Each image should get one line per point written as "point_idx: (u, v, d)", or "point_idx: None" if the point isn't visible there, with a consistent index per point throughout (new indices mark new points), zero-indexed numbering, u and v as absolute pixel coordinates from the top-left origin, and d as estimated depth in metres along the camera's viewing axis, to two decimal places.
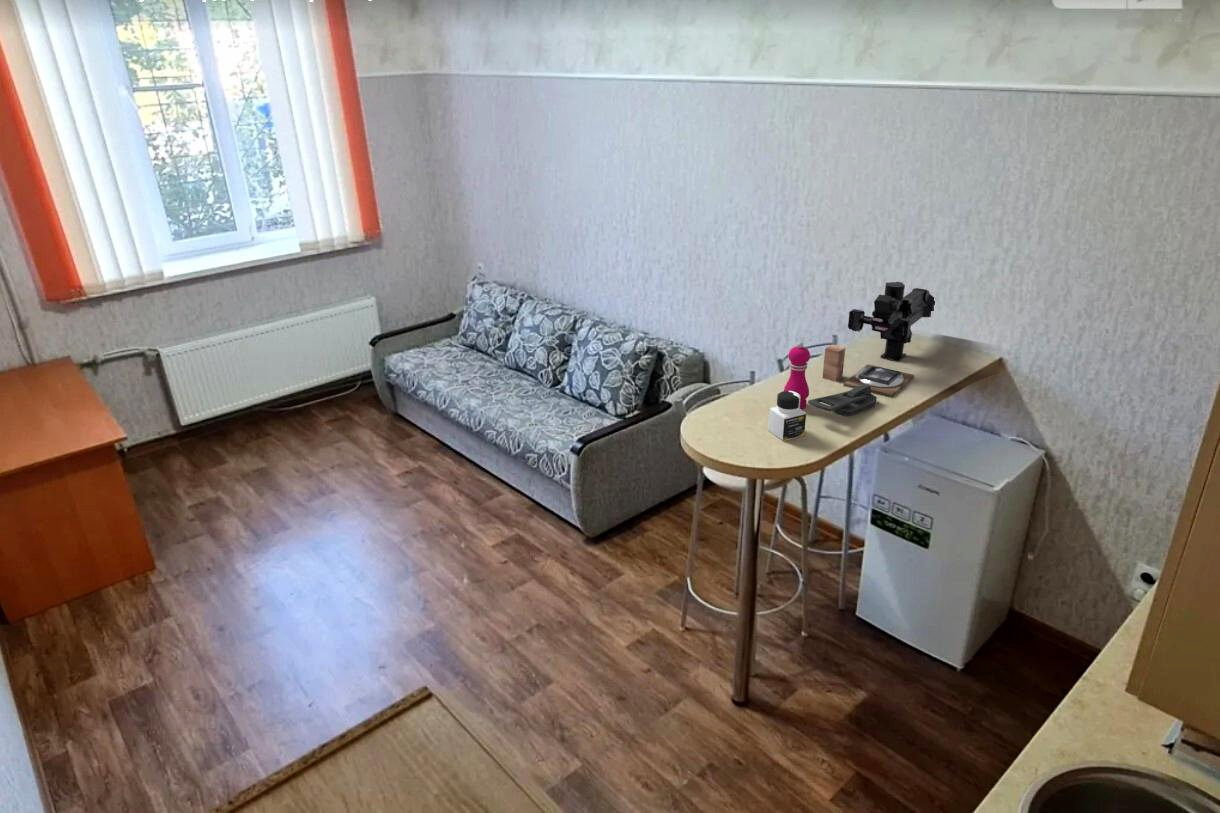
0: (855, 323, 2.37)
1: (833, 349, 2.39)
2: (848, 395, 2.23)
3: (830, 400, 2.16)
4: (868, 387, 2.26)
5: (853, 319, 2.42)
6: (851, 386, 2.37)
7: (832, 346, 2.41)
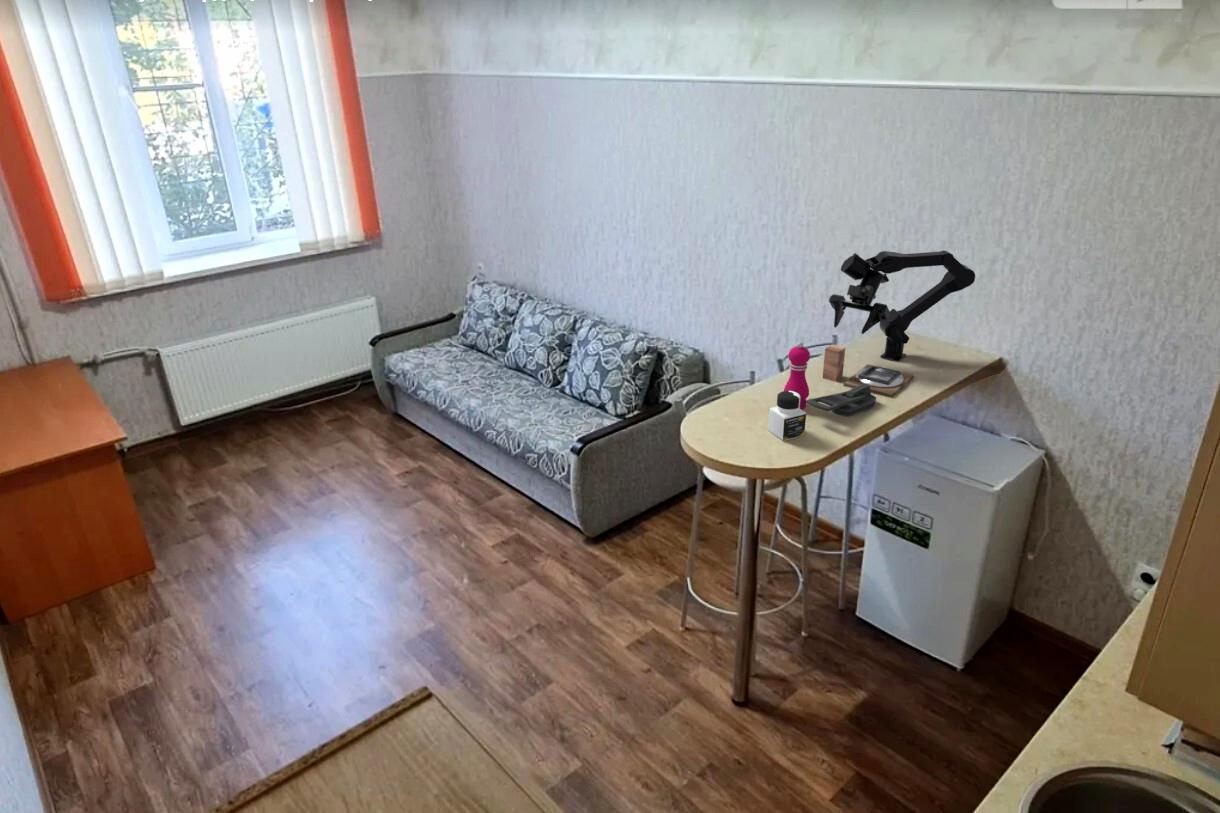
0: (835, 318, 2.46)
1: (833, 349, 2.39)
2: (847, 395, 2.23)
3: (828, 400, 2.17)
4: (867, 387, 2.26)
5: None
6: (851, 386, 2.37)
7: (832, 346, 2.41)
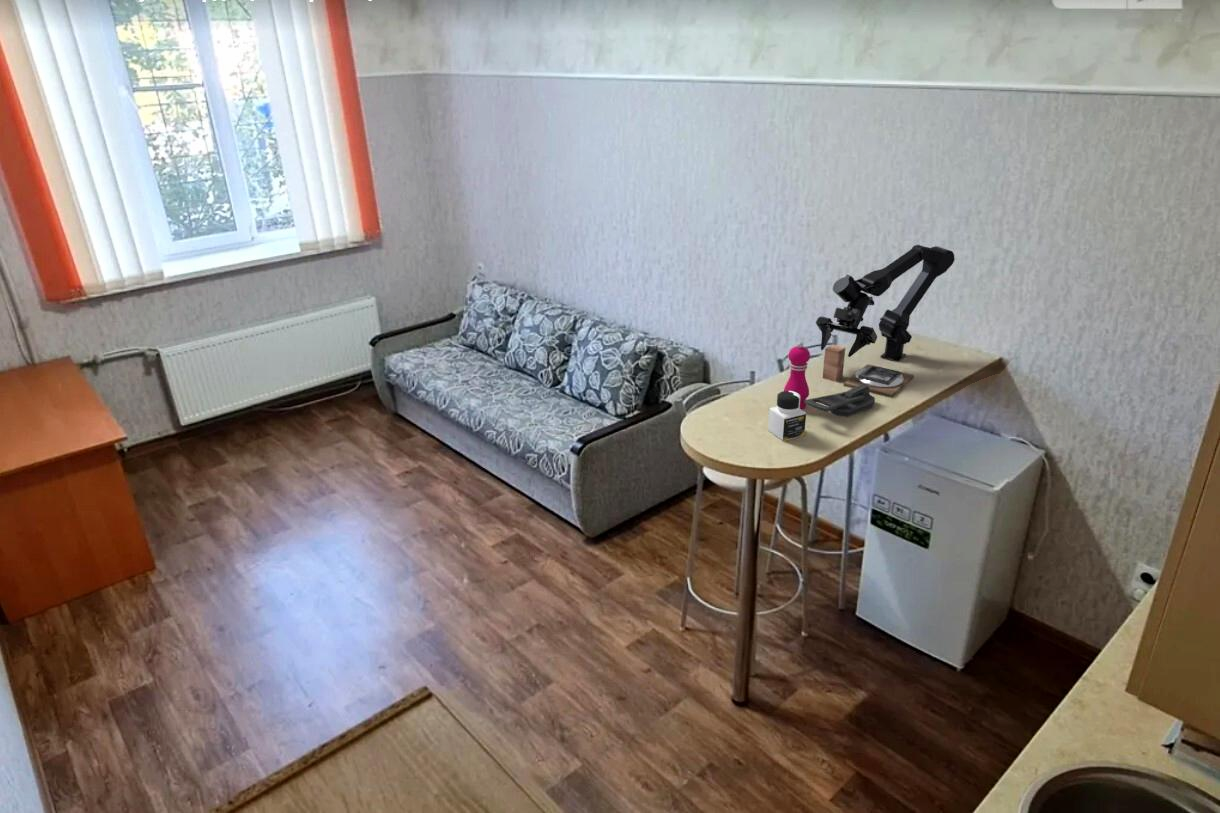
0: (822, 340, 2.44)
1: (833, 349, 2.39)
2: (846, 395, 2.23)
3: (826, 401, 2.16)
4: (866, 388, 2.25)
5: None
6: (851, 386, 2.37)
7: (832, 346, 2.41)
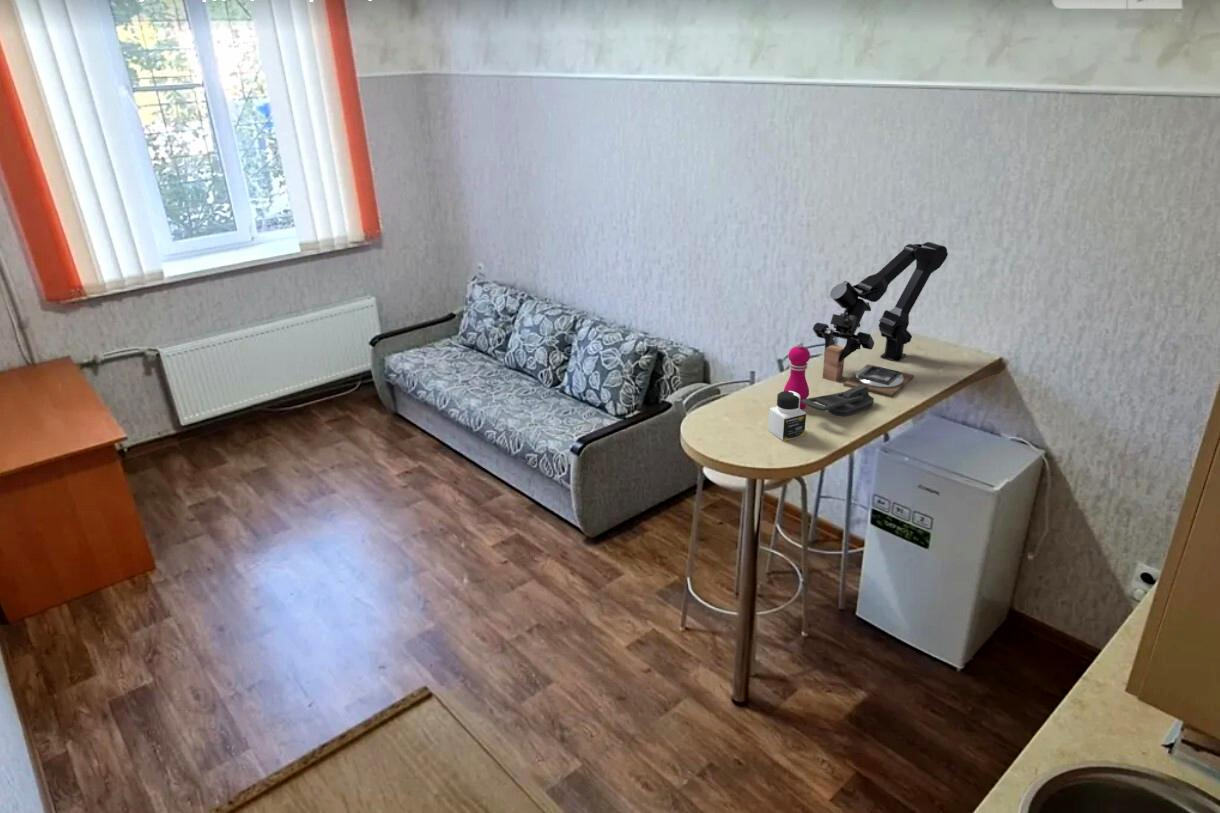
0: None
1: (833, 349, 2.39)
2: (844, 395, 2.23)
3: (824, 400, 2.17)
4: (865, 388, 2.25)
5: (824, 336, 2.44)
6: (851, 386, 2.37)
7: (832, 346, 2.41)
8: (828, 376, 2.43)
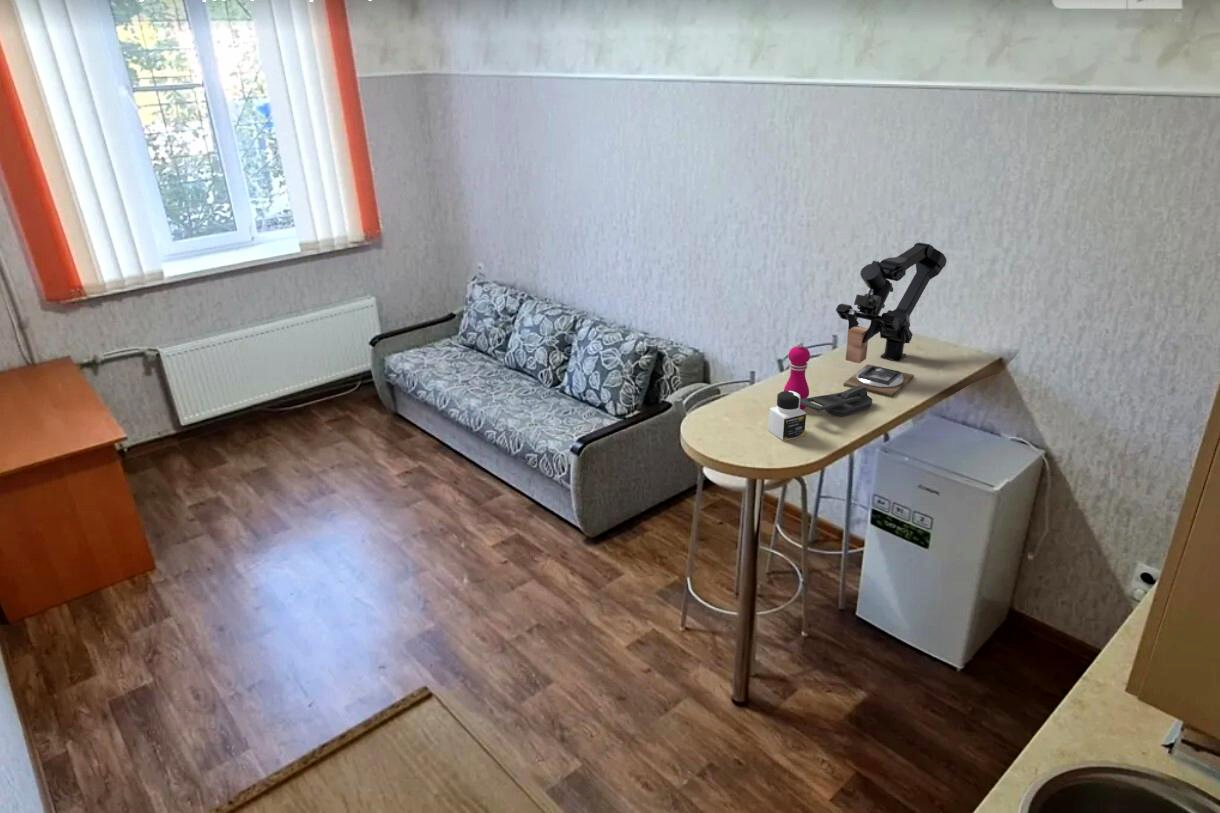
0: None
1: (856, 330, 2.35)
2: (842, 396, 2.22)
3: (821, 400, 2.17)
4: (864, 389, 2.25)
5: (848, 318, 2.40)
6: (851, 386, 2.37)
7: (856, 327, 2.37)
8: (851, 358, 2.38)
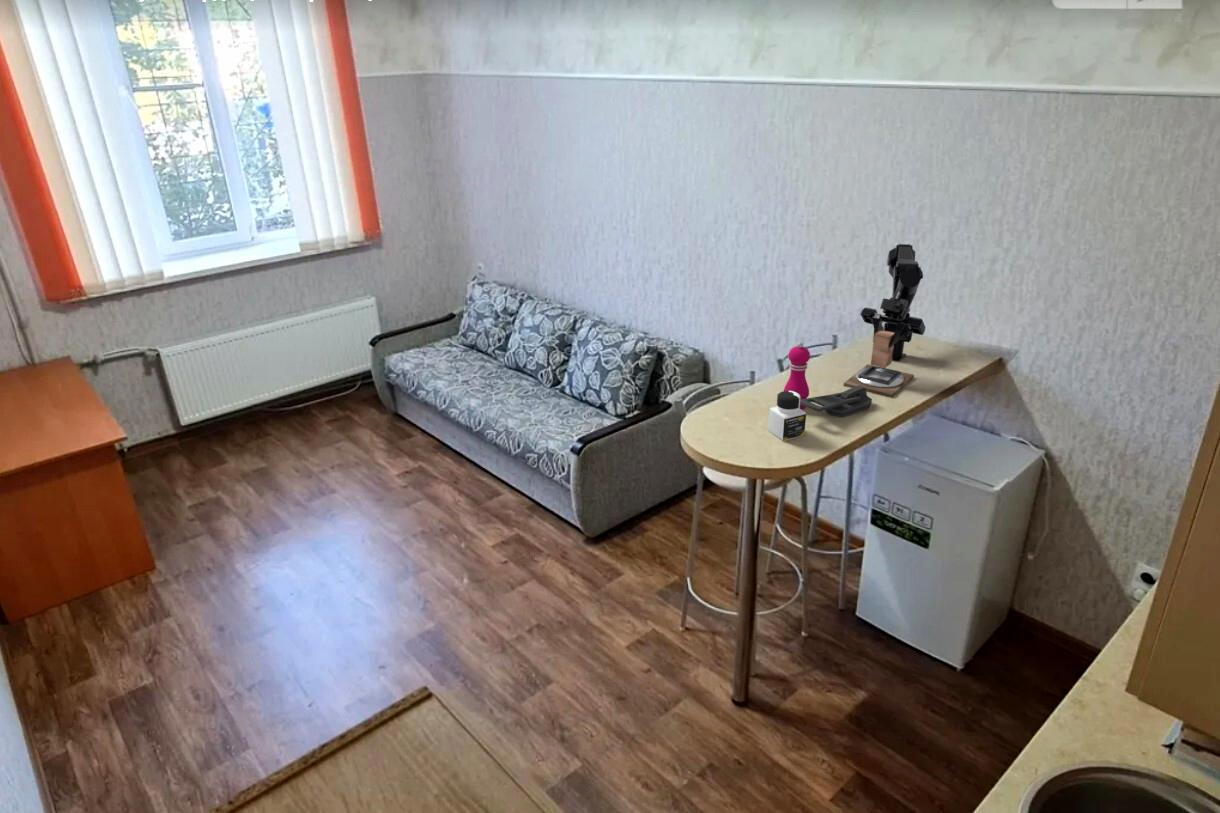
0: None
1: (883, 334, 2.32)
2: (842, 396, 2.22)
3: (821, 401, 2.16)
4: (863, 389, 2.25)
5: (873, 322, 2.38)
6: (851, 386, 2.37)
7: (881, 331, 2.35)
8: (877, 362, 2.36)
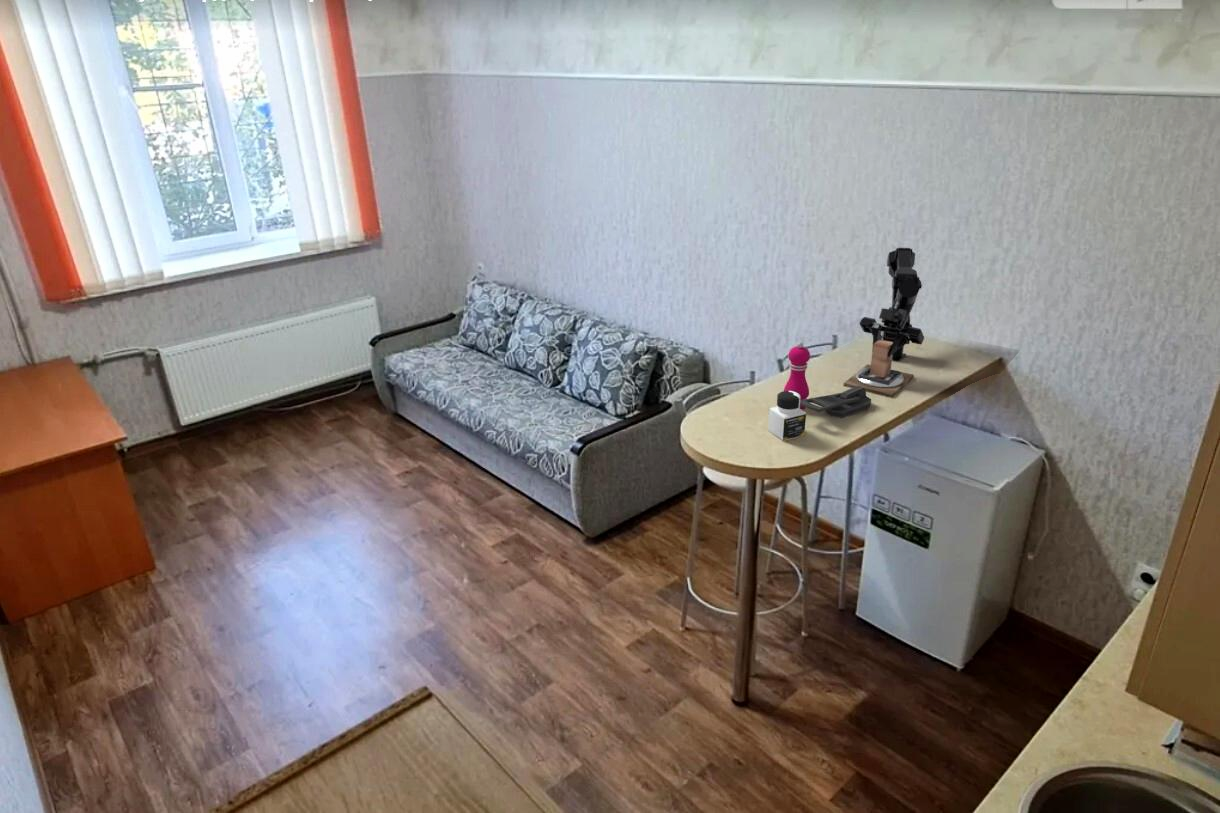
0: None
1: (882, 344, 2.34)
2: (841, 396, 2.22)
3: (821, 401, 2.16)
4: (863, 389, 2.25)
5: (872, 331, 2.39)
6: (851, 386, 2.37)
7: (880, 341, 2.36)
8: (876, 372, 2.37)
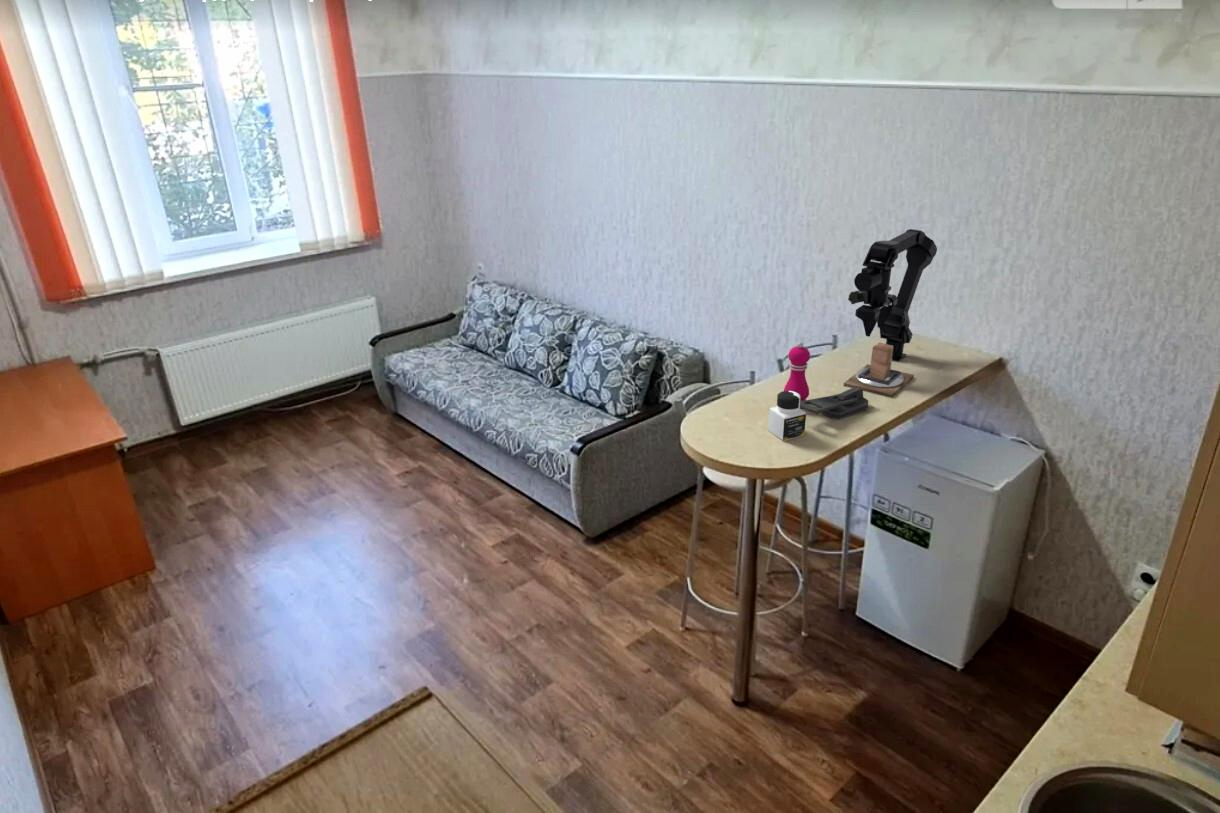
0: None
1: (881, 347, 2.34)
2: (838, 398, 2.21)
3: (818, 403, 2.15)
4: (860, 390, 2.24)
5: None
6: (851, 386, 2.37)
7: (880, 344, 2.36)
8: (875, 375, 2.38)
